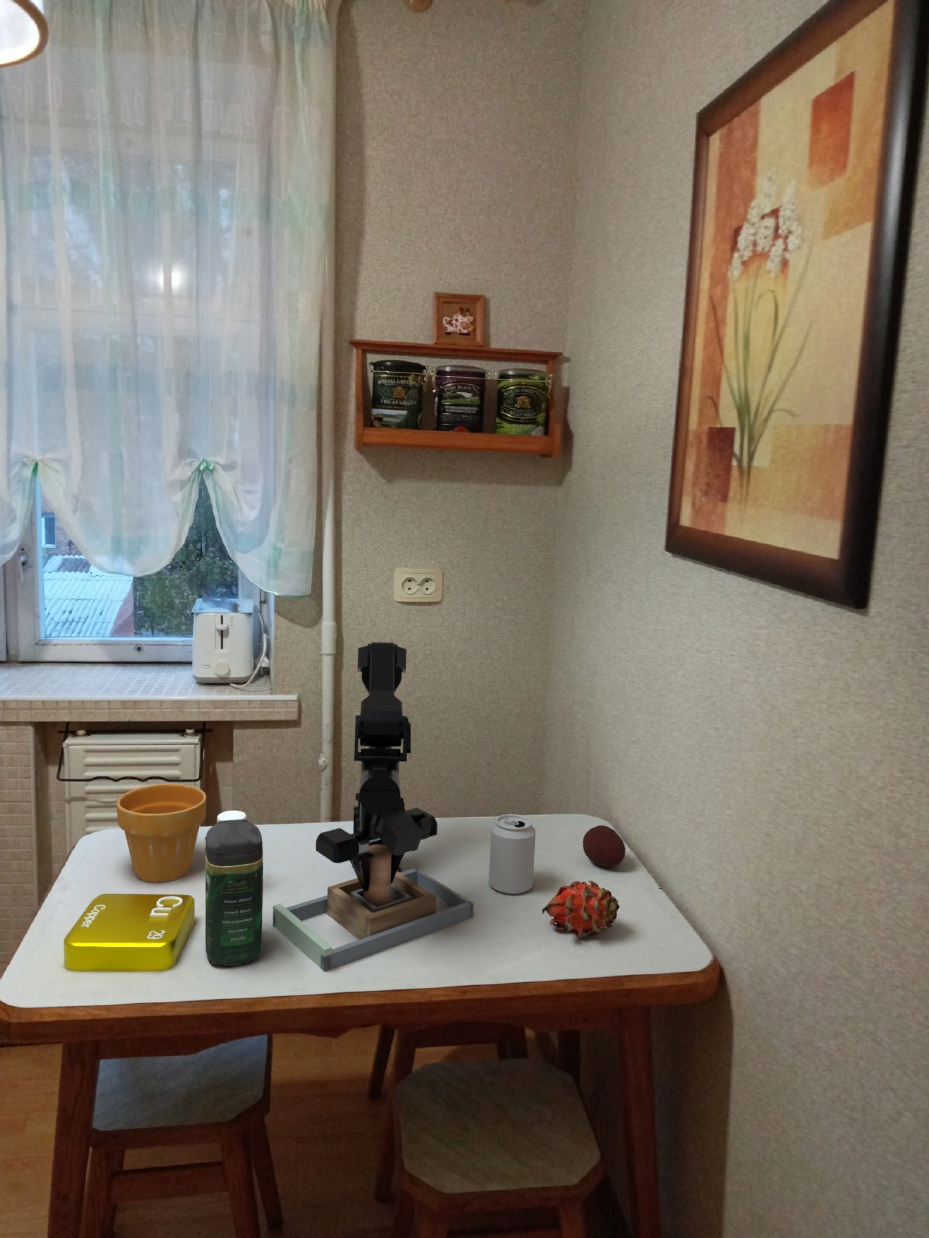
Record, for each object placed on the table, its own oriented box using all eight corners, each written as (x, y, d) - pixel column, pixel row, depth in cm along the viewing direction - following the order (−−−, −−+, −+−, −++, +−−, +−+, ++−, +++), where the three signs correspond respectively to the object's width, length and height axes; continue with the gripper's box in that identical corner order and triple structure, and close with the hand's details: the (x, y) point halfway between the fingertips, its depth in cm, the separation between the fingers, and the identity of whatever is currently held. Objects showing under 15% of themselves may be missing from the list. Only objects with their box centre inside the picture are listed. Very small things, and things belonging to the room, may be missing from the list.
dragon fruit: (624, 944, 137) (546, 953, 136) (612, 892, 142) (538, 901, 142) (627, 919, 130) (546, 928, 130) (615, 866, 136) (537, 875, 136)
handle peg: (358, 909, 137) (359, 848, 135) (380, 902, 139) (382, 842, 138) (373, 920, 134) (374, 858, 132) (395, 912, 136) (396, 851, 135)
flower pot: (221, 858, 157) (220, 787, 155) (182, 894, 143) (181, 818, 141) (146, 849, 159) (145, 779, 157) (101, 884, 145) (99, 809, 143)
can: (529, 900, 146) (533, 831, 144) (484, 894, 147) (487, 825, 145) (535, 880, 153) (538, 814, 151) (492, 874, 155) (495, 809, 153)
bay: (272, 927, 134) (272, 905, 134) (415, 881, 151) (416, 862, 150) (324, 973, 123) (324, 949, 122) (472, 918, 139) (473, 897, 139)
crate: (327, 913, 138) (327, 886, 137) (391, 893, 146) (391, 867, 145) (369, 947, 129) (370, 918, 128) (435, 923, 137) (436, 896, 136)
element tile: (97, 918, 135) (96, 889, 135) (197, 919, 136) (197, 890, 136) (59, 973, 121) (58, 941, 120) (172, 974, 122) (171, 942, 121)
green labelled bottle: (265, 964, 124) (266, 838, 121) (207, 971, 122) (205, 843, 119) (259, 929, 133) (259, 812, 130) (204, 936, 131) (203, 816, 128)
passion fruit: (603, 878, 155) (605, 840, 154) (573, 859, 162) (575, 823, 161) (635, 870, 159) (638, 833, 158) (604, 851, 166) (607, 816, 165)
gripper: (356, 820, 121) (354, 926, 124) (461, 793, 133) (457, 890, 136) (314, 795, 130) (313, 895, 132) (417, 772, 142) (414, 864, 144)
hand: (377, 886), depth 136 cm, fingers closed on handle peg, 4 cm apart
